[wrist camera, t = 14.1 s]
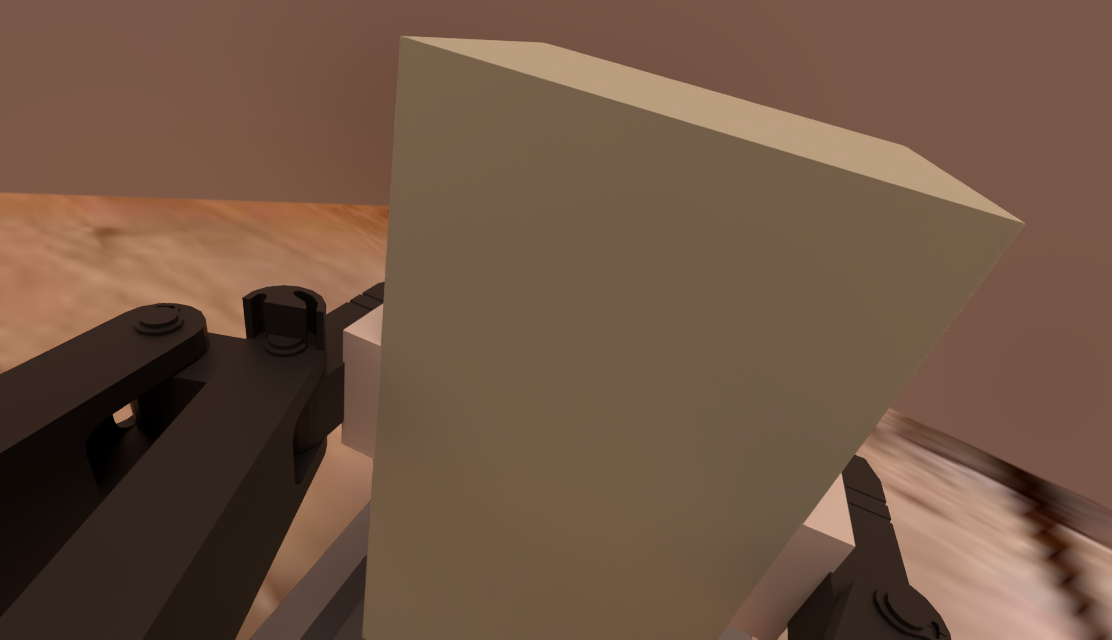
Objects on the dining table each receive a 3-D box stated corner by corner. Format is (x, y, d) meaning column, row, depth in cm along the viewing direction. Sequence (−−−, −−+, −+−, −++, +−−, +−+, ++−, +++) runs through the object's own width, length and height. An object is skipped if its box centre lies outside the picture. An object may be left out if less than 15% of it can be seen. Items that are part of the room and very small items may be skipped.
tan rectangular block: (653, 591, 16) (905, 146, 9) (616, 776, 12) (1025, 223, 5) (457, 498, 18) (544, 42, 10) (362, 637, 13) (400, 35, 6)
